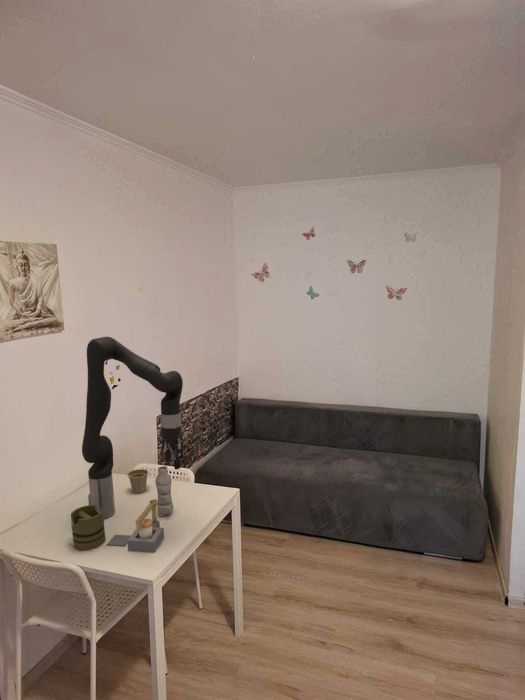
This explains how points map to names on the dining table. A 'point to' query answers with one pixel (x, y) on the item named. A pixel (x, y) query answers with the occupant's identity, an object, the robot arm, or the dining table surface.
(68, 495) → the dining table surface
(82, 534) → the piston
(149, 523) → the plug
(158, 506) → the plastic bottle
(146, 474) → the flower pot
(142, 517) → the lever
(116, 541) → the mat
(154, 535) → the socket block
